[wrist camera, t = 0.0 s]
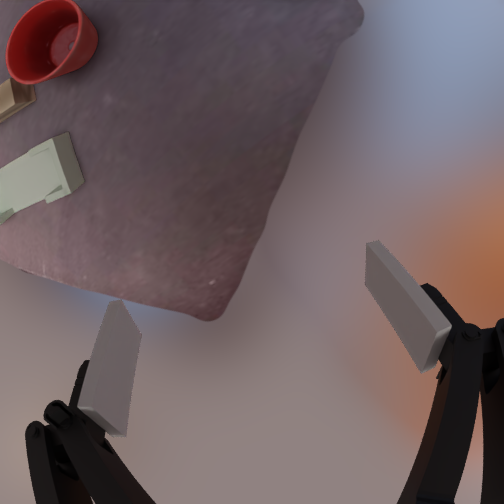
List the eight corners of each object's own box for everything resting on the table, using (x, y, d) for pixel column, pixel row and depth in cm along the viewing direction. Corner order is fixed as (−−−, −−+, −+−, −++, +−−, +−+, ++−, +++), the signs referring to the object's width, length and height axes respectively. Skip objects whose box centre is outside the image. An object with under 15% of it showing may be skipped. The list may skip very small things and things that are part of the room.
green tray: (-16, 179, 33) (-32, 189, 29) (68, 131, 33) (52, 137, 29) (0, 219, 37) (-15, 232, 33) (84, 181, 37) (71, 193, 33)
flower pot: (117, 60, 29) (90, 52, 21) (51, 95, 30) (14, 101, 21) (101, -1, 24) (73, -20, 16) (37, 37, 24) (-1, 31, 16)
